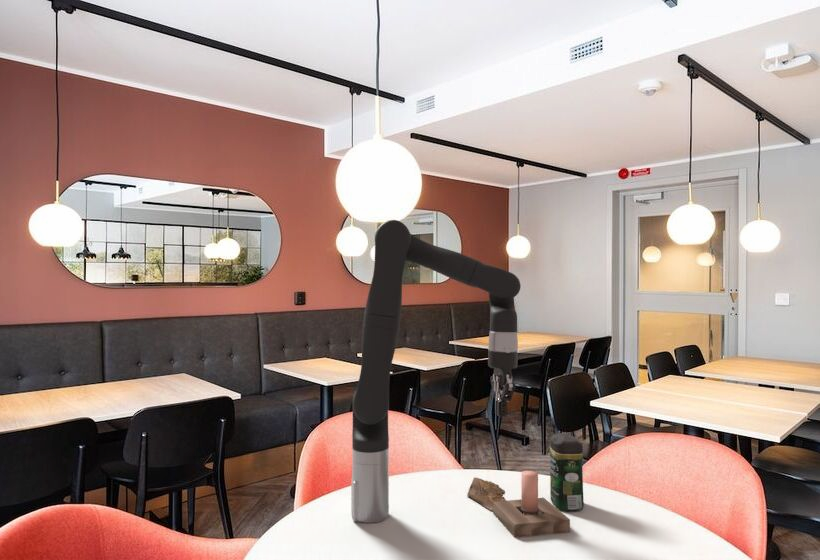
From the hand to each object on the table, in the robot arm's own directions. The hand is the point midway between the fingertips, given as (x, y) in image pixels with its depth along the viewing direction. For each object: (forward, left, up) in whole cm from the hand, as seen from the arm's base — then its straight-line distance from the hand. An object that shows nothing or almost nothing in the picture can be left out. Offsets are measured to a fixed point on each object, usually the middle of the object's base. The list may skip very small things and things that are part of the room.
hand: (501, 416), depth 141 cm
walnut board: (+4, -7, -25) cm, 26 cm away
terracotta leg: (+4, -7, -25) cm, 26 cm away
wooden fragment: (0, +14, -25) cm, 29 cm away
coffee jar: (+18, +1, -25) cm, 31 cm away
